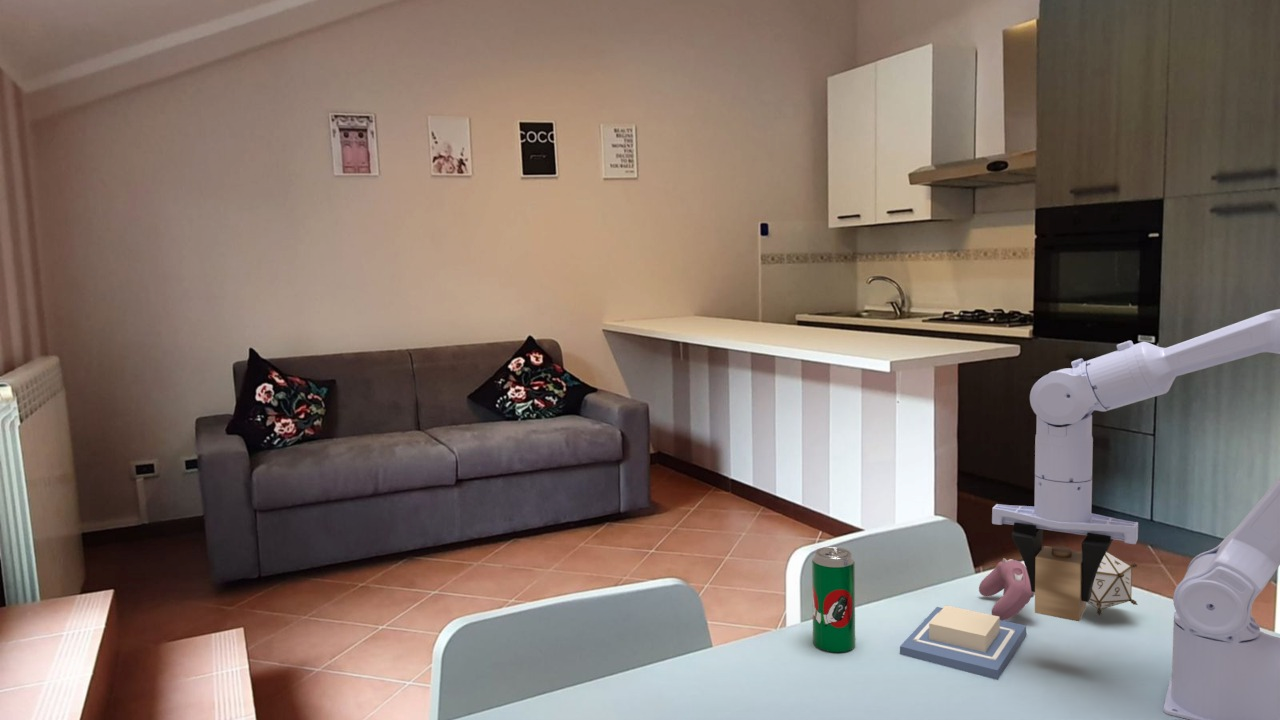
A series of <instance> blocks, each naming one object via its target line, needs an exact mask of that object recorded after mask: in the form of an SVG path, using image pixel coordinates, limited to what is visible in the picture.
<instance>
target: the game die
mask: <svg viewBox="0 0 1280 720" xmlns="http://www.w3.org/2000/svg"><path fill="white" fill-rule="evenodd" d="M1138 564H1139V563H1136V562H1133V563H1131V564H1129V563H1128V562H1125V561H1124V560H1122V559H1120V558H1118V557H1117V556H1116V555H1113V554H1112V553H1111V552H1108V551H1107V552H1106V554H1105V555H1104V557H1103V559H1102V561H1101V563H1100V566H1099V568H1098V571H1097V573H1096V576H1095V579H1094V583H1093V587H1092V593H1091V598H1090V600H1089V602H1086V604H1089V605H1090V606H1092V607H1094V608H1095V609H1097V610H1096V614H1097V615H1098V617H1099V616H1101V615H1102V612H1103V611H1102V610H1104V609H1106V608H1111V607H1114V606H1118V605H1122V604H1125V603H1128V602H1130V604H1132V605H1137V606H1138V603H1137V601H1136V600H1135V599H1132V590H1133V589H1132V586H1133V585H1132V583H1133V581H1132V578H1133V568H1137V566H1138Z"/></svg>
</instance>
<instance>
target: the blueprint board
mask: <svg viewBox="0 0 1280 720" xmlns="http://www.w3.org/2000/svg"><path fill="white" fill-rule="evenodd" d="M1026 636H1027V625H1025V624H1020V623H1016V622H1011V621H1007V620H1003V621H1002V620H1000V617H999V616H994V615H992V614H989V613H984V612H979V611H974V610H970V609H965V608H960V607H957V606H950V605H944V607H940V606H936V607H935V608H934V609H933V611H931V612H930V614H929V615H928V616H927V617H926V618H925V619H923V621H922V622H921V623H920V624H919V625H918V627H917V628H915V630H914V631H912V633H910V634H909V636H908V637H907V638H906V639H905V640H904V642H903V643H901V645H900V646H899V655H901V656H906V657H909V658H913V659H917V660H921V661H925V662H929V663H931V664H932V663H933V664H936V665H940V666H943V667H947V668H952V669H955V670H958V671H962V672H967V673H971V674H972V675H973V674H974V675H979V676H982V677H986V678H988V679H993V680H999V678H1000V677H1001V676H1002V673H1003V672H1004V671H1005V668H1007V666H1008V665H1009V662H1011V660H1012V659H1013V657H1014V655H1015V653H1017V650H1018V649H1019V647H1020V646H1021V644H1022V642H1023V641H1024V639H1025V638H1026Z"/></svg>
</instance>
